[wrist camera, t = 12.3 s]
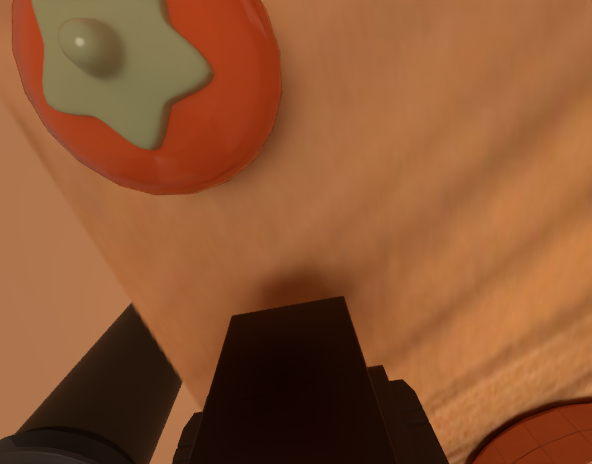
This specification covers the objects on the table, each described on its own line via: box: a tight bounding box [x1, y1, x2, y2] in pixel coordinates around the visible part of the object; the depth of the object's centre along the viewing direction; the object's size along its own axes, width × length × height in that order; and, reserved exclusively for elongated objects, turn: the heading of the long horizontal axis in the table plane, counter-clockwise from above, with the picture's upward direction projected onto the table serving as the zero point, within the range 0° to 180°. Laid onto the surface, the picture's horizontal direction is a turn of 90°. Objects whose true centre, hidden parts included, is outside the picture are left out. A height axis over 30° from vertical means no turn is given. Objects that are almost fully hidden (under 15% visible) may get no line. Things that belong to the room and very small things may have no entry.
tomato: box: [12, 0, 282, 195], centre depth 9 cm, size 7×7×8 cm
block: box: [188, 296, 398, 464], centre depth 9 cm, size 4×4×7 cm
